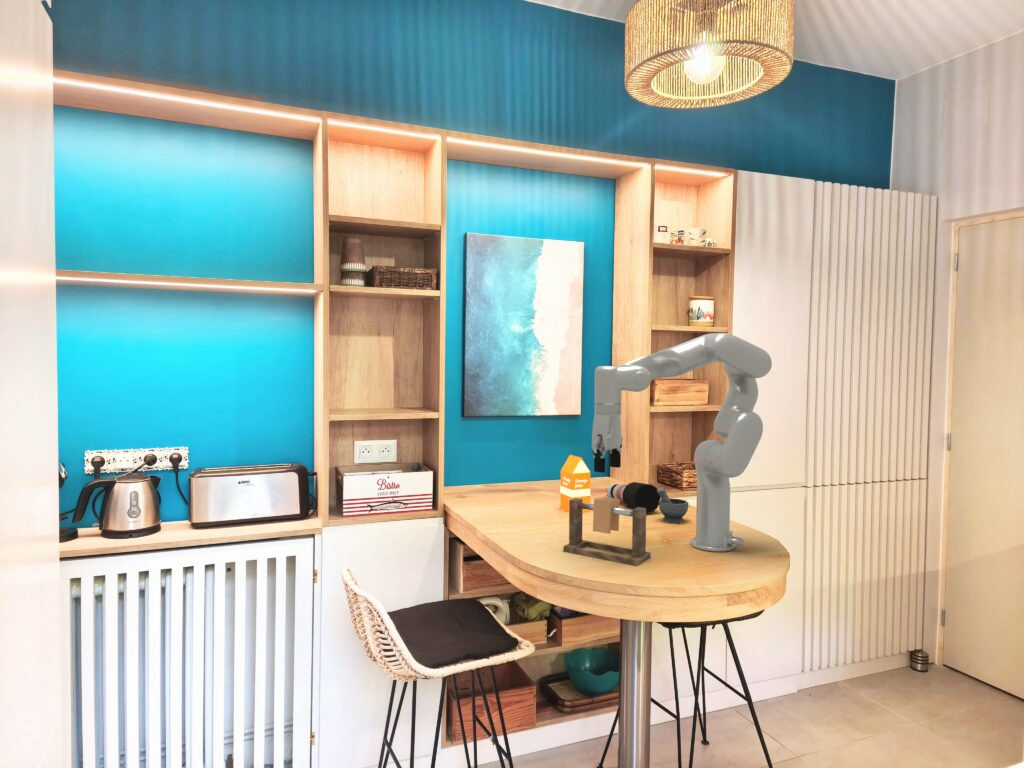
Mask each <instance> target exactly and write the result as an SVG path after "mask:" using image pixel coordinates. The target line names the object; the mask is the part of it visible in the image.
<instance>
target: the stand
mask: <svg viewBox="0 0 1024 768" xmlns="http://www.w3.org/2000/svg"><path fill="white" fill-rule="evenodd" d="M579 502H583V499H579V498H574V499H571V500H569V512H568V514H569V515H568V518H569V519H568V544H564V545H563V546H562V547H563V548H562V549H563V550H562V551H563V552H565V553H569V554H570V553H571V554H574V555H581V556H584V557H585V556H586V557H590V558H596V559H600V560H606V561H611V562H616V563H620V564H626V565H630V566H634V567H638V566H640V565H641V564H643V563H644V562H646V561H647V560H649V559H651V553H652V552H649V551H646V549H647V548H646V547H647V545H646V543H647V539H646V538H647V513H646V508H641V507H637V508H635V509H632V510H633V517H632V523H631V524H632V533H631V535H632V538H631V542H632V543H631V545H632V546H631V548H630V547H629V548H628V547H624V546H617V545H611V544H608V543H601V542H596V541H591V540H584V539H583V513H582V509H581V508H578V503H579ZM585 548H590V549H585ZM591 548H593V549H596V550H602V551H608V552H612V553H616V554H617V553H618V554H622V555H628V556H629V557H628V556H627V557H626V556H622V555H618V554H617V555H616V554H612V553H608V552H607V553H606V552H602V551H596V550H591Z"/></svg>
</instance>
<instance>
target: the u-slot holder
mask: <svg viewBox="0 0 1024 768" xmlns="http://www.w3.org/2000/svg"><path fill="white" fill-rule="evenodd" d="M620 503H621V502H620V499H616V498H610V497H609V496H601V497H598V498H597V497H596V498H594V500H593V504H594V511H593V515H592V516H593V519H592V520H593V521H592V532H597V533H601V534H608V535H609V534H611V531H615V532H619V530H620V529H619V527H620V515H619V514H613V513H611V508H614V507H617V508H621V506H620Z"/></svg>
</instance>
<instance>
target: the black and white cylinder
mask: <svg viewBox="0 0 1024 768" xmlns="http://www.w3.org/2000/svg"><path fill="white" fill-rule="evenodd" d="M658 489H659V488H657V487H656V486H654V485H653V484H649V483H643V482H642V483H641V482H635V481H632V482H629V483H628V484H625V483H624V484H621V483H620V484H619V483H610V484H609V485H608V486H607V487H606V488H605V492H606V494H607V497H609V498H616V499H620V503H623V504H624V505H625V506H626V507H627V509H630V510H633V509H635V508H637V507H641V508H646V514H647V513H652V512H655V511H656V509H658V508H659V500H661V498H660V495H659V494H658V492H657V490H658Z"/></svg>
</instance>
